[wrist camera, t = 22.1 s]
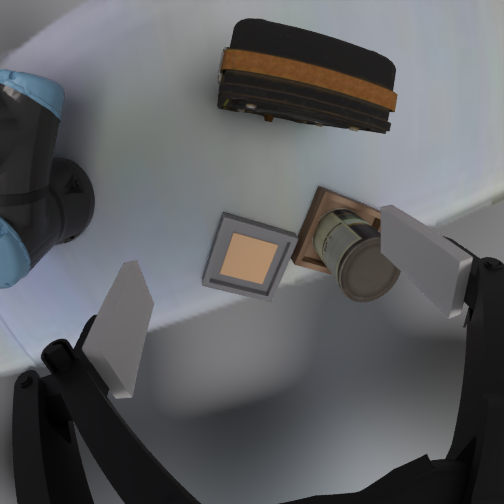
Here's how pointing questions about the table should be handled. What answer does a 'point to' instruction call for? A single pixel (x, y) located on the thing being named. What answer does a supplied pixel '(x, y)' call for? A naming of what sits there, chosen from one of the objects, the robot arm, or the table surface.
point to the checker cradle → (248, 257)
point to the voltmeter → (305, 78)
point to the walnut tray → (320, 205)
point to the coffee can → (354, 255)
